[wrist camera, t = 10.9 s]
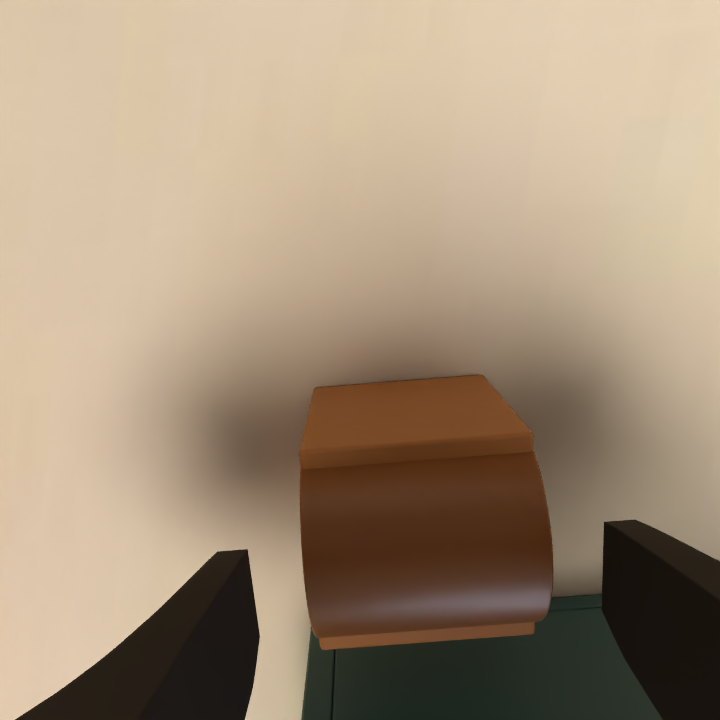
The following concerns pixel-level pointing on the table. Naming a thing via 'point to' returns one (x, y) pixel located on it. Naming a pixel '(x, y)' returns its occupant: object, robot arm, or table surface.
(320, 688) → the dark green open box
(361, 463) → the square bread
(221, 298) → the table surface
